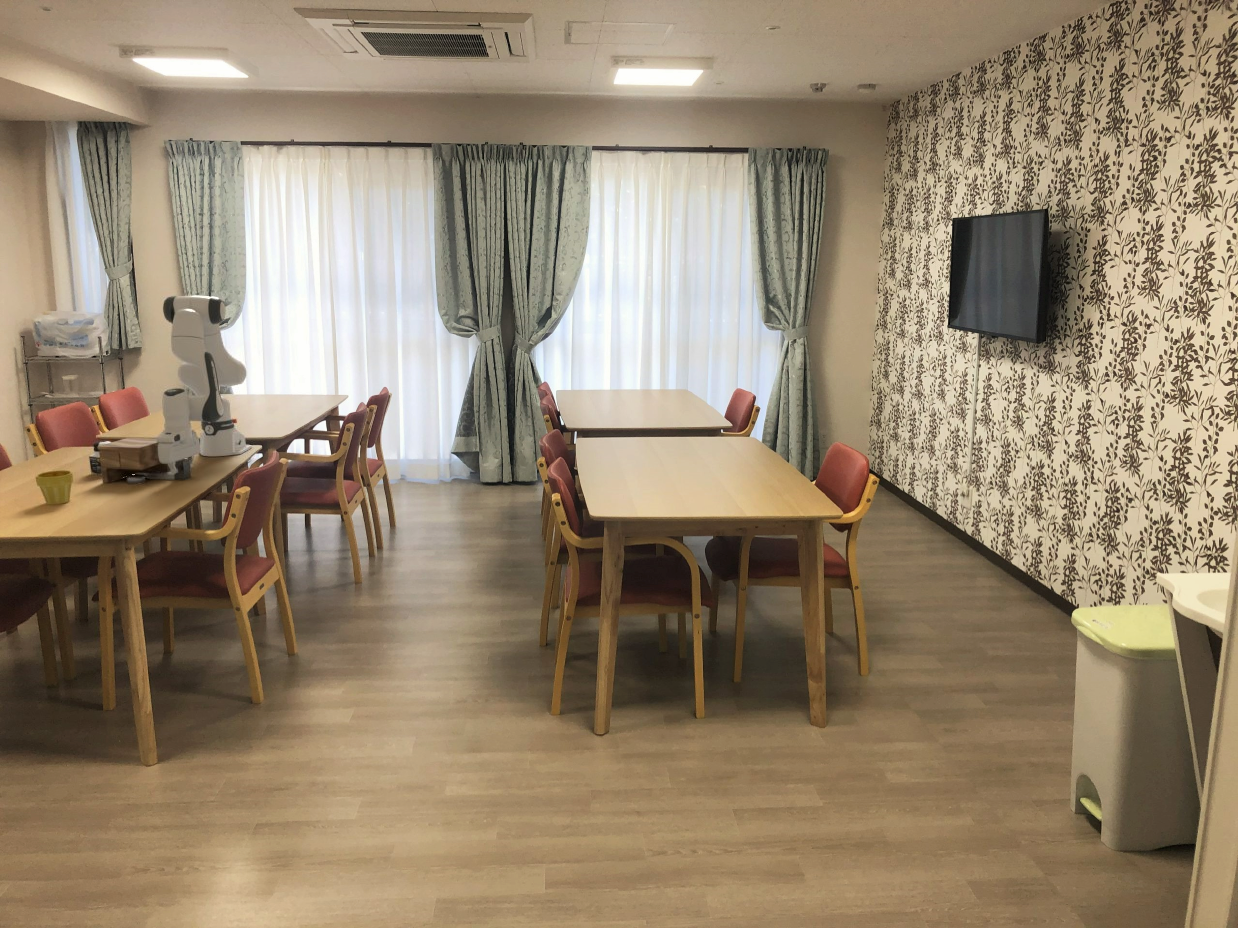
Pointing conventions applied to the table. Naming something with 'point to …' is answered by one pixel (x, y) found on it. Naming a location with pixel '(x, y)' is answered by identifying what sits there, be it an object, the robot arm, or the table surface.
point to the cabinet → (129, 458)
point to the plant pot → (55, 486)
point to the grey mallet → (181, 475)
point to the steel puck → (136, 479)
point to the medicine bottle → (96, 458)
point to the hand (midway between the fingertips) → (182, 470)
